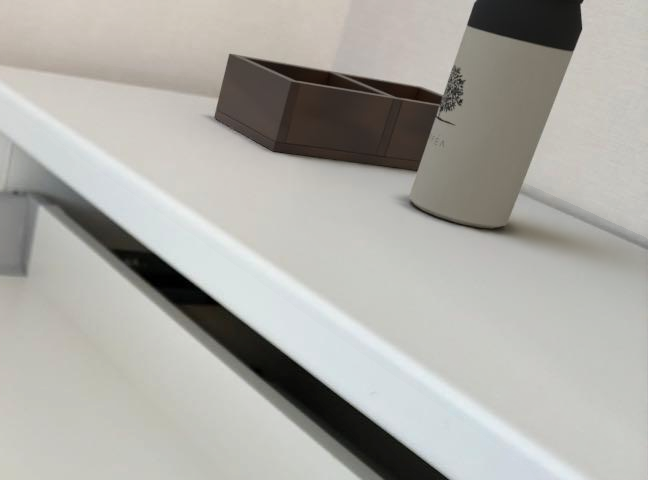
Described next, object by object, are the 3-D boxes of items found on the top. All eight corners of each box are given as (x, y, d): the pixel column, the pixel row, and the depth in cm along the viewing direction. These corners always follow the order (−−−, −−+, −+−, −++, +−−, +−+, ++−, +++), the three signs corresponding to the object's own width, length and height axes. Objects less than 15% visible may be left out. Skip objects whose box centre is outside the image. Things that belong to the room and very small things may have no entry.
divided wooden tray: (402, 145, 114) (421, 86, 111) (472, 177, 105) (495, 115, 102) (213, 118, 105) (228, 53, 102) (272, 151, 96) (291, 81, 93)
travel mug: (501, 216, 91) (593, -23, 82) (509, 237, 84) (610, -21, 75) (407, 192, 92) (487, -47, 83) (407, 211, 85) (494, -47, 76)
